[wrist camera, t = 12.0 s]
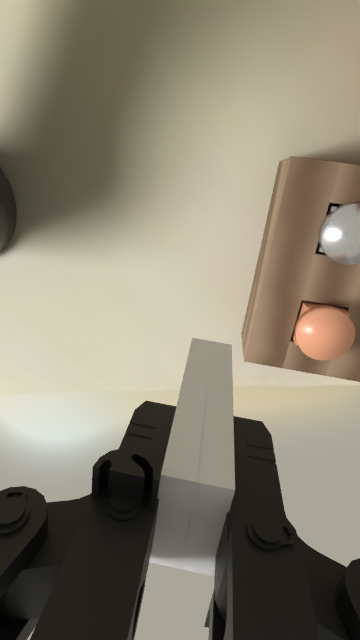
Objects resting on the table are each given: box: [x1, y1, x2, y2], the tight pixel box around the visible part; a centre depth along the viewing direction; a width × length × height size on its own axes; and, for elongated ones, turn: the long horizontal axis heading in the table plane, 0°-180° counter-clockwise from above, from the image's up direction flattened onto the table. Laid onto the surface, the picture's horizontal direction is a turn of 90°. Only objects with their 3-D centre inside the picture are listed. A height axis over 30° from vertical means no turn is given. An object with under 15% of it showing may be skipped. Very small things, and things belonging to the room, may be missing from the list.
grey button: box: [316, 203, 360, 265], centre depth 35 cm, size 6×6×8 cm
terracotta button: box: [292, 300, 355, 360], centre depth 38 cm, size 6×6×8 cm
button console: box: [242, 156, 360, 382], centre depth 39 cm, size 14×22×8 cm, turn 173°
